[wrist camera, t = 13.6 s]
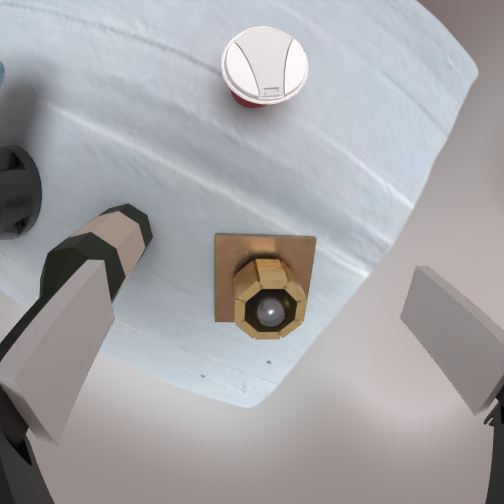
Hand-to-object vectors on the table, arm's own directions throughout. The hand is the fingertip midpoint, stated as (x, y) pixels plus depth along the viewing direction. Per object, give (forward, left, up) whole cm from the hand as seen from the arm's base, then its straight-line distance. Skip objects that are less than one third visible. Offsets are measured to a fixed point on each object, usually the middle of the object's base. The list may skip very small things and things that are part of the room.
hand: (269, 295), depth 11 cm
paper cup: (+1, +13, -29) cm, 32 cm away
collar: (+4, -14, -26) cm, 30 cm away
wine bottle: (-16, -7, -29) cm, 34 cm away
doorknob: (+4, -14, -29) cm, 32 cm away
